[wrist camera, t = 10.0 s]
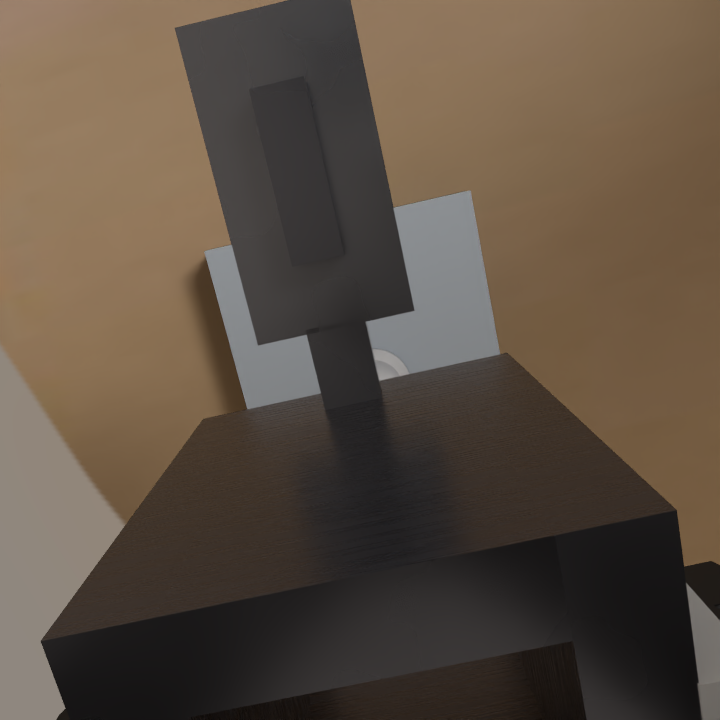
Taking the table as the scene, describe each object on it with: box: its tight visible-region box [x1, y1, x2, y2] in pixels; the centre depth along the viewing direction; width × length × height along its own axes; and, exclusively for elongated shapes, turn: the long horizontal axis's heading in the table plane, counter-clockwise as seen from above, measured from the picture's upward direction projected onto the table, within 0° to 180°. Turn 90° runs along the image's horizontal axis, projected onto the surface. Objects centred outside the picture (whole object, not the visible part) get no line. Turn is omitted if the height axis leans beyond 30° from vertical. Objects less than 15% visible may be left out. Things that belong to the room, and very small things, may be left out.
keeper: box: [204, 191, 500, 409], centre depth 26 cm, size 14×11×8 cm
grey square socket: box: [41, 0, 702, 720], centre depth 11 cm, size 15×7×8 cm, turn 13°
